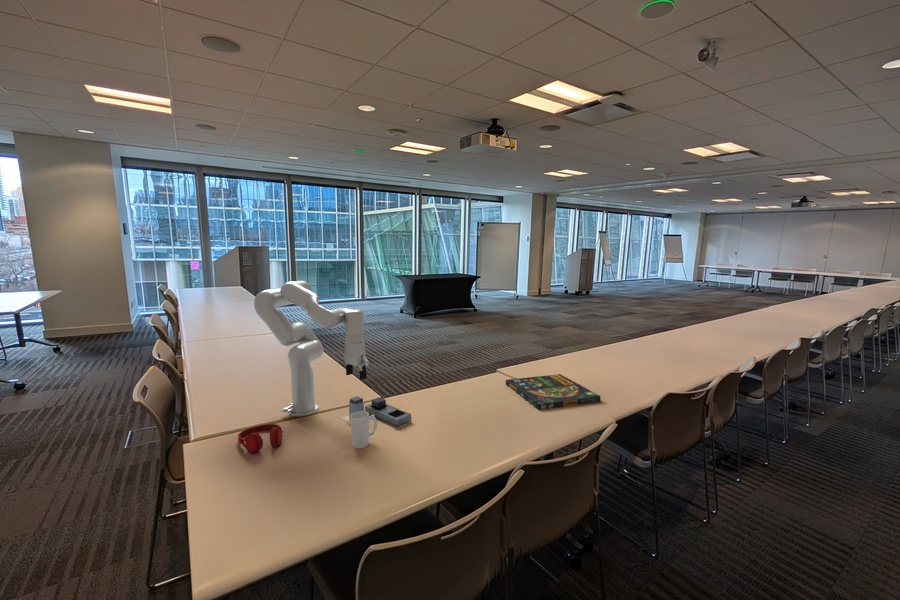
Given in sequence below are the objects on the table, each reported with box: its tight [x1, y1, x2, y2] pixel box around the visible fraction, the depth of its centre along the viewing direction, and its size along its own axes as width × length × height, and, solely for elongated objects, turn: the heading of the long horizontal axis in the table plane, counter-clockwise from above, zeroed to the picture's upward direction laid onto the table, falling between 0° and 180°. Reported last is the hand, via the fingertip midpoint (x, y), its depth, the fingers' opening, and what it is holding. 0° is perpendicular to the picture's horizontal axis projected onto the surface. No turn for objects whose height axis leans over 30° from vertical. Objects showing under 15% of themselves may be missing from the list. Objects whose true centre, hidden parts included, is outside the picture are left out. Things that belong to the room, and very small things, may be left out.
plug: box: [348, 395, 365, 419], centre depth 166 cm, size 4×4×9 cm
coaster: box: [340, 414, 351, 425], centre depth 167 cm, size 10×10×1 cm
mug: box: [350, 410, 378, 449], centre depth 145 cm, size 10×7×12 cm, turn 119°
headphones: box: [237, 423, 284, 454], centre depth 146 cm, size 15×7×20 cm
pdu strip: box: [364, 397, 412, 429], centre depth 168 cm, size 8×22×6 cm, turn 50°
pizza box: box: [505, 373, 601, 411], centre depth 200 cm, size 35×35×4 cm
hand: (356, 376), depth 164 cm, fingers open, 9 cm apart
